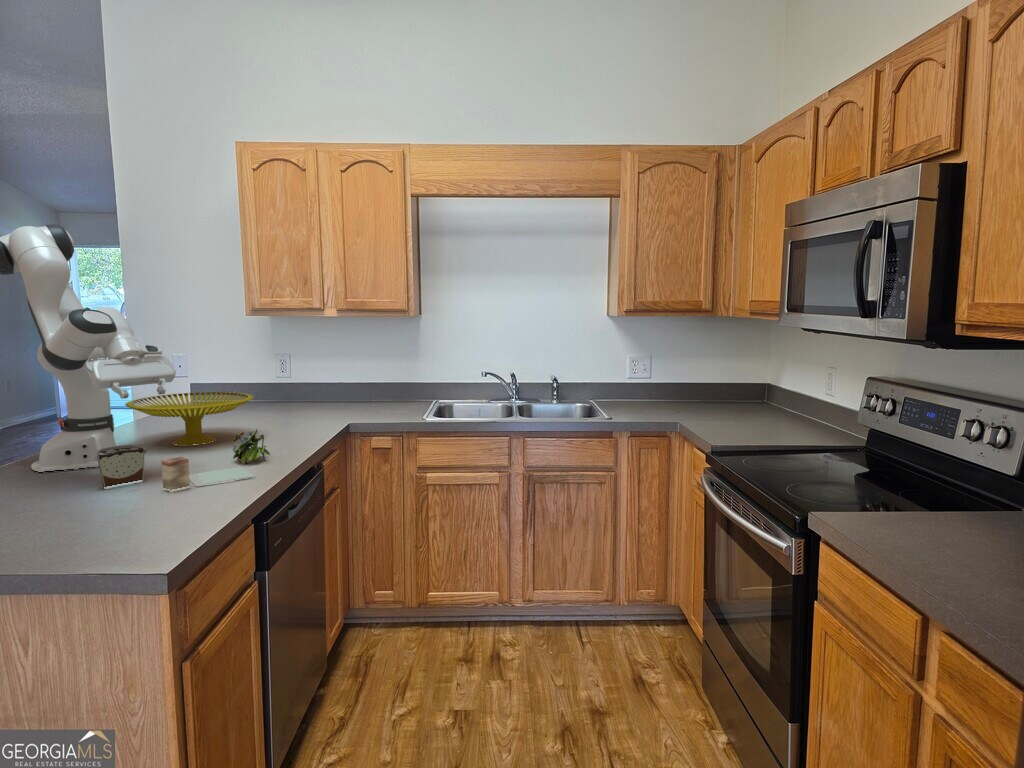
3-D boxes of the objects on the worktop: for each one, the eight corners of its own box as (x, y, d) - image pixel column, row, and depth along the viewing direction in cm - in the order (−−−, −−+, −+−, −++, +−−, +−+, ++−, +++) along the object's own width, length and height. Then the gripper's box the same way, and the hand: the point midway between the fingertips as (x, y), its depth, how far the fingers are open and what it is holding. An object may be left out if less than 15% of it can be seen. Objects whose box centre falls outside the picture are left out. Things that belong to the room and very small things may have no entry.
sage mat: (196, 487, 171) (196, 485, 171) (185, 477, 181) (185, 475, 181) (255, 478, 180) (255, 476, 180) (241, 468, 190) (241, 466, 190)
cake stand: (207, 458, 203) (204, 411, 201) (98, 452, 211) (94, 406, 209) (278, 432, 242) (276, 393, 240) (183, 428, 250) (181, 390, 248)
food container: (140, 477, 181) (137, 442, 179) (149, 481, 177) (146, 445, 176) (90, 486, 171) (86, 450, 170) (98, 491, 167) (95, 453, 166)
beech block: (171, 493, 166) (168, 462, 165) (163, 490, 168) (161, 460, 167) (190, 488, 170) (188, 458, 169) (182, 486, 172) (180, 456, 171)
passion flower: (241, 477, 201) (239, 442, 206) (276, 469, 202) (274, 435, 207) (227, 464, 191) (225, 428, 196) (264, 457, 192) (262, 421, 197)
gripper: (85, 351, 167) (104, 391, 163) (166, 346, 183) (185, 383, 179) (80, 367, 171) (98, 407, 166) (160, 361, 187) (179, 397, 182)
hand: (144, 395), depth 173 cm, fingers open, 8 cm apart
